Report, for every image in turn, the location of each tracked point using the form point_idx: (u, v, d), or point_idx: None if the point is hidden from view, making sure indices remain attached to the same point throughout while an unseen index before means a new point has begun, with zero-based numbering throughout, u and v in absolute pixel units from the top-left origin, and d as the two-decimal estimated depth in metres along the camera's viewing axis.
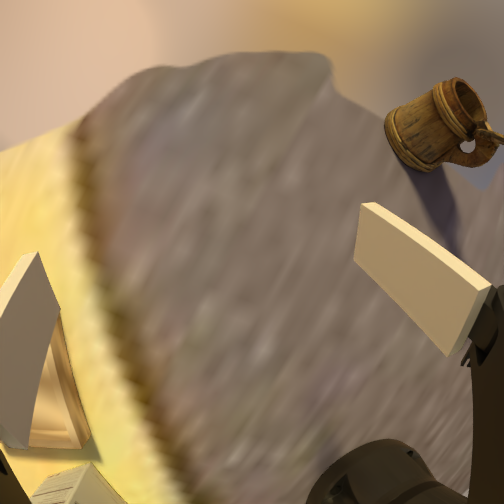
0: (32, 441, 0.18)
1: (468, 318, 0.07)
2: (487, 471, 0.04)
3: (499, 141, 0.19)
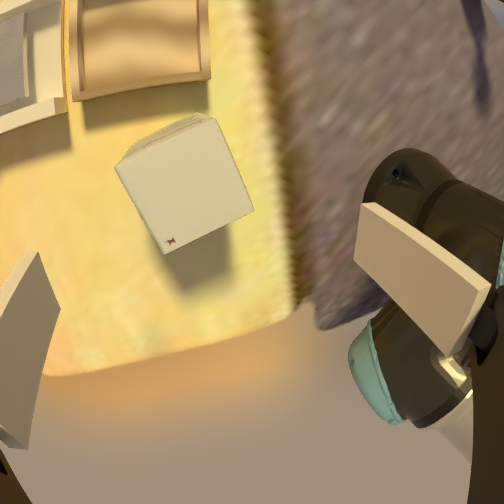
0: (150, 80, 0.23)
1: (468, 318, 0.07)
2: (486, 471, 0.04)
3: None
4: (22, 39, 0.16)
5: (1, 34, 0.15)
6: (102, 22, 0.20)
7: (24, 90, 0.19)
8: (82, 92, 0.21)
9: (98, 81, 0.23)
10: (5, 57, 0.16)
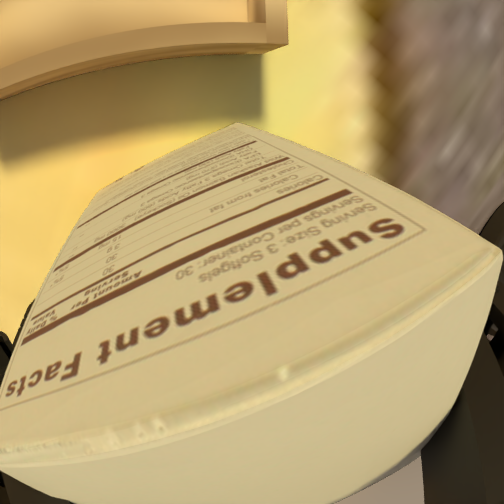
0: (130, 37, 0.08)
1: None
2: (439, 482, 0.04)
3: None
4: None
5: None
6: None
7: None
8: None
9: (18, 57, 0.08)
10: None
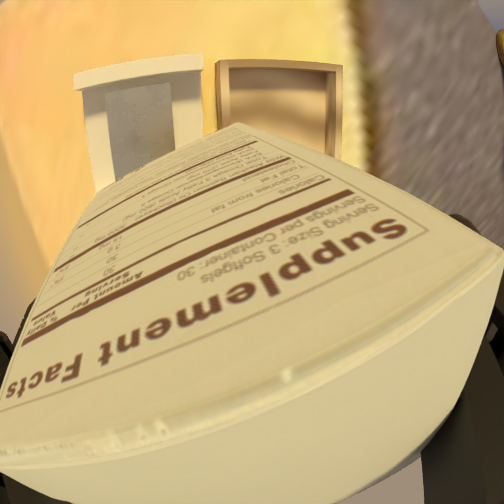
0: None
1: None
2: (439, 482, 0.04)
3: None
4: (171, 114, 0.25)
5: (142, 101, 0.24)
6: (245, 106, 0.29)
7: None
8: None
9: None
10: (151, 130, 0.25)
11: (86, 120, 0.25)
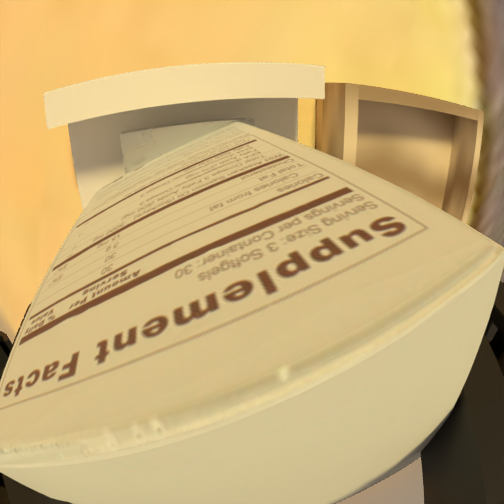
0: None
1: None
2: (439, 482, 0.04)
3: None
4: None
5: None
6: (360, 163, 0.18)
7: None
8: None
9: None
10: None
11: (80, 181, 0.14)
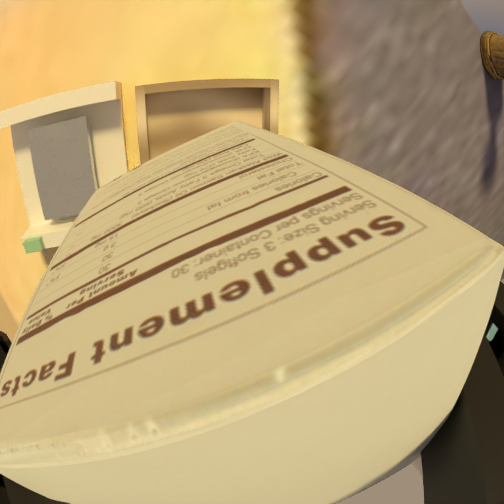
0: None
1: None
2: (440, 482, 0.04)
3: None
4: (88, 149, 0.23)
5: (61, 137, 0.22)
6: (169, 132, 0.27)
7: None
8: None
9: None
10: (70, 165, 0.23)
11: (16, 155, 0.23)
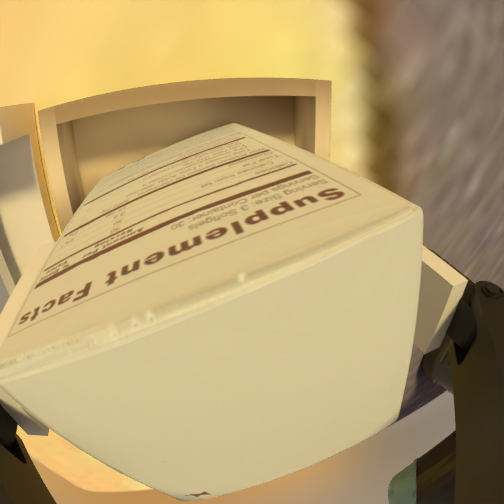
0: None
1: (444, 314, 0.08)
2: (471, 474, 0.04)
3: None
4: None
5: None
6: None
7: None
8: None
9: None
10: None
11: None
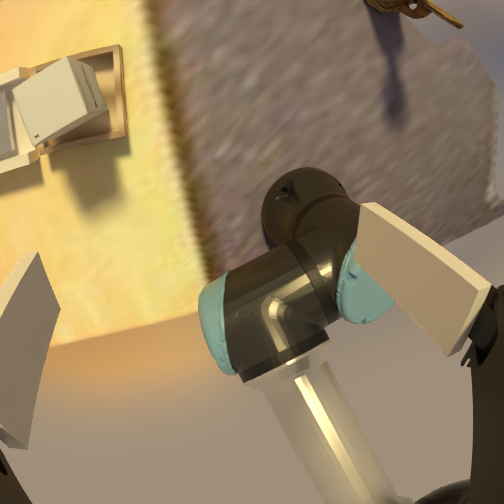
0: (87, 139, 0.34)
1: (468, 318, 0.07)
2: (486, 471, 0.04)
3: (426, 6, 0.26)
4: (6, 111, 0.28)
5: None
6: None
7: (11, 146, 0.31)
8: (45, 148, 0.33)
9: (56, 138, 0.35)
10: None
11: None
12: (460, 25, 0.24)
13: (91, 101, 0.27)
